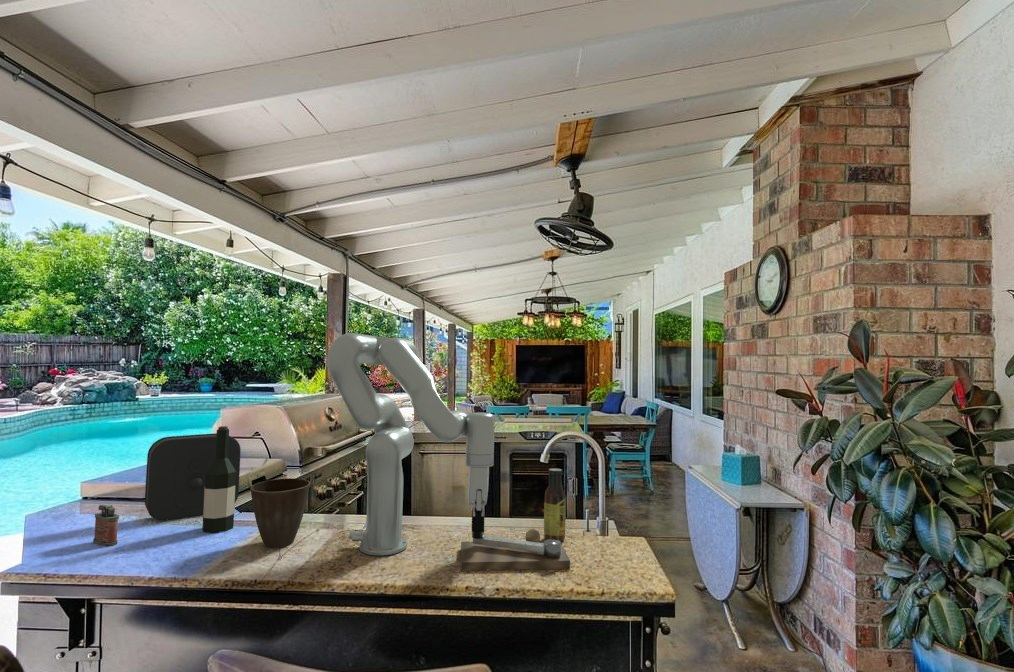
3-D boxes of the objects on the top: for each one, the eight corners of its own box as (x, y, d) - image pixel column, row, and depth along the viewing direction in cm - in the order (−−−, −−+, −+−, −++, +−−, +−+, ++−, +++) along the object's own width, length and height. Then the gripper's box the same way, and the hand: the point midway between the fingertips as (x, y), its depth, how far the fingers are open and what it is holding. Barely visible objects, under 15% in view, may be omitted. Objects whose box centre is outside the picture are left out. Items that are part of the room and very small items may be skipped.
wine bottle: (239, 527, 149) (244, 426, 150) (210, 535, 142) (216, 429, 143) (224, 522, 153) (229, 424, 155) (195, 529, 146) (201, 426, 148)
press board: (460, 570, 121) (461, 545, 121) (461, 549, 135) (461, 526, 135) (570, 568, 123) (570, 544, 124) (559, 547, 137) (559, 525, 137)
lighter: (120, 543, 134) (123, 506, 135) (106, 547, 131) (108, 509, 132) (104, 538, 138) (106, 502, 138) (89, 542, 135) (92, 505, 135)
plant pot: (284, 556, 127) (287, 493, 128) (234, 550, 131) (237, 489, 132) (318, 537, 142) (320, 480, 143) (273, 532, 145) (275, 476, 146)
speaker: (232, 504, 172) (236, 431, 173) (238, 510, 165) (242, 434, 167) (143, 518, 155) (148, 437, 157) (146, 525, 149) (151, 441, 150)
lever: (562, 552, 127) (562, 514, 128) (559, 558, 123) (559, 519, 124) (475, 541, 134) (475, 505, 135) (469, 547, 130) (470, 509, 131)
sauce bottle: (564, 543, 140) (565, 472, 141) (542, 541, 142) (543, 471, 143) (566, 536, 147) (567, 468, 148) (545, 534, 148) (546, 466, 149)
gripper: (465, 453, 141) (463, 519, 140) (465, 465, 124) (463, 540, 123) (492, 453, 141) (490, 519, 140) (495, 466, 125) (493, 540, 124)
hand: (477, 528), depth 132 cm, fingers closed on lever, 3 cm apart
